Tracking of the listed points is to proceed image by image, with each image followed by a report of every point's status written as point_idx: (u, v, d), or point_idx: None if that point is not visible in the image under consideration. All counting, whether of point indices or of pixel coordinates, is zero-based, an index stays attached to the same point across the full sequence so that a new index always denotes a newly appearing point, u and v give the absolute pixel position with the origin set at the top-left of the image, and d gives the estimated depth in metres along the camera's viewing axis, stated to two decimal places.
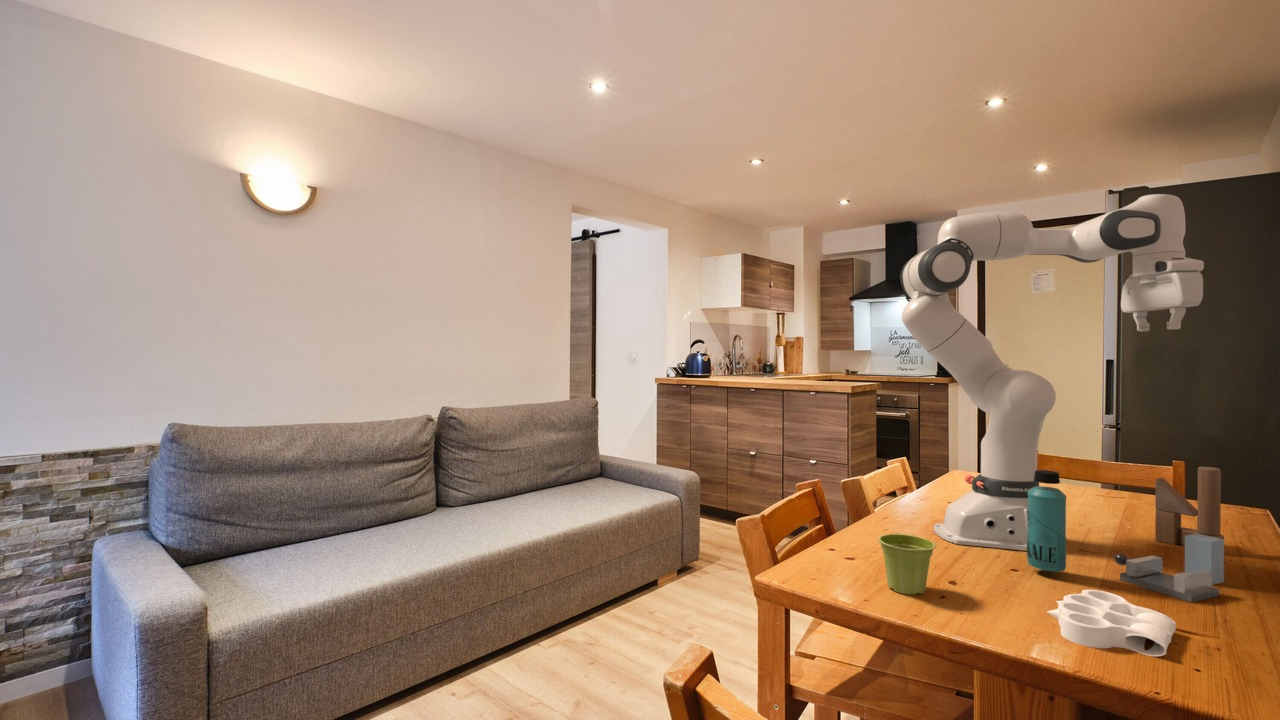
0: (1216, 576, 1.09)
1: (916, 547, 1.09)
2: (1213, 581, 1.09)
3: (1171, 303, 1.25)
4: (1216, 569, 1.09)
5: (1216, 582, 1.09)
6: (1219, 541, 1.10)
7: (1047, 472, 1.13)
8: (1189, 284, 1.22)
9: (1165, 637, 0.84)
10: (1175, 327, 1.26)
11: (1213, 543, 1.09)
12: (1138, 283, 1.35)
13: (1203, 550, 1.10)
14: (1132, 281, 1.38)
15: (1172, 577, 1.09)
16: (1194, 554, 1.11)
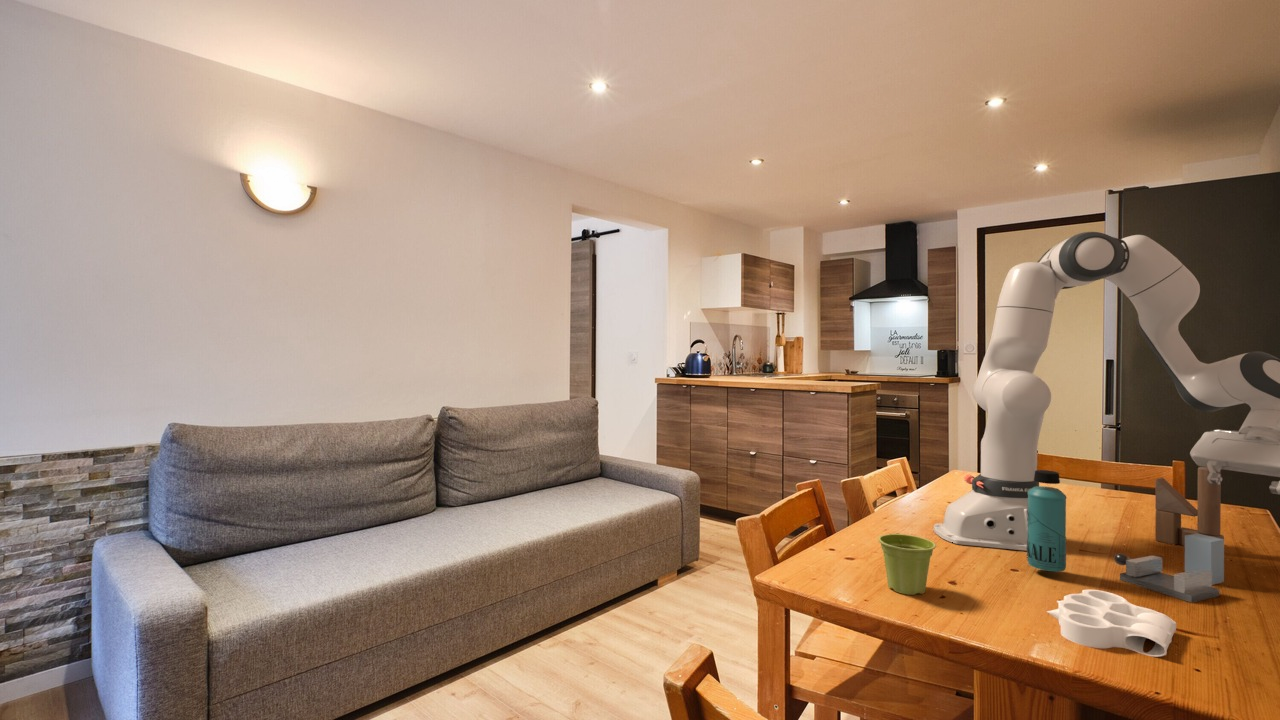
0: (1216, 576, 1.09)
1: (916, 547, 1.09)
2: (1213, 581, 1.09)
3: None
4: (1216, 569, 1.09)
5: (1216, 582, 1.09)
6: (1219, 541, 1.10)
7: (1047, 472, 1.13)
8: None
9: (1165, 637, 0.84)
10: None
11: (1213, 543, 1.09)
12: (1239, 437, 1.21)
13: (1203, 549, 1.10)
14: (1226, 433, 1.23)
15: (1172, 577, 1.09)
16: (1194, 554, 1.11)
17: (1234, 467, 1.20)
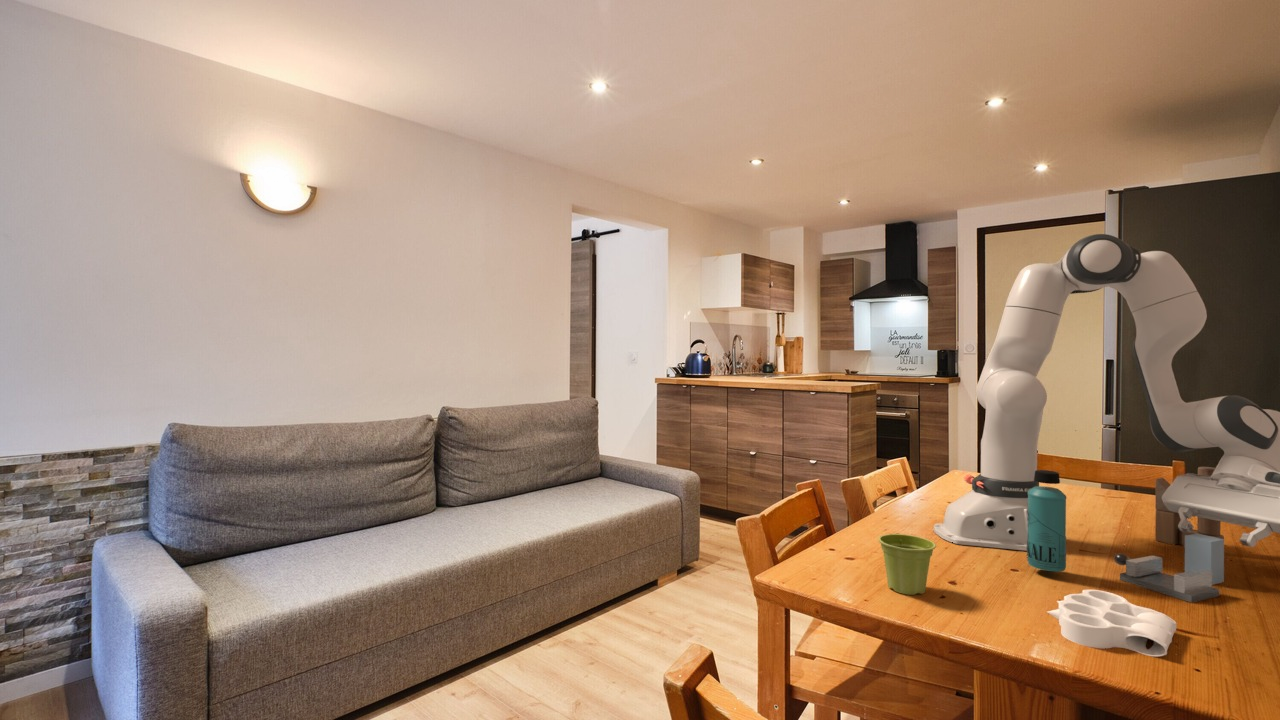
0: (1216, 576, 1.09)
1: (916, 547, 1.09)
2: (1213, 581, 1.09)
3: (1269, 517, 1.07)
4: (1216, 569, 1.09)
5: (1216, 582, 1.09)
6: (1219, 541, 1.10)
7: (1047, 472, 1.13)
8: None
9: (1166, 637, 0.84)
10: (1252, 543, 1.07)
11: (1213, 543, 1.09)
12: (1210, 483, 1.18)
13: (1203, 549, 1.10)
14: (1198, 478, 1.20)
15: (1172, 577, 1.09)
16: (1194, 554, 1.11)
17: (1206, 514, 1.17)
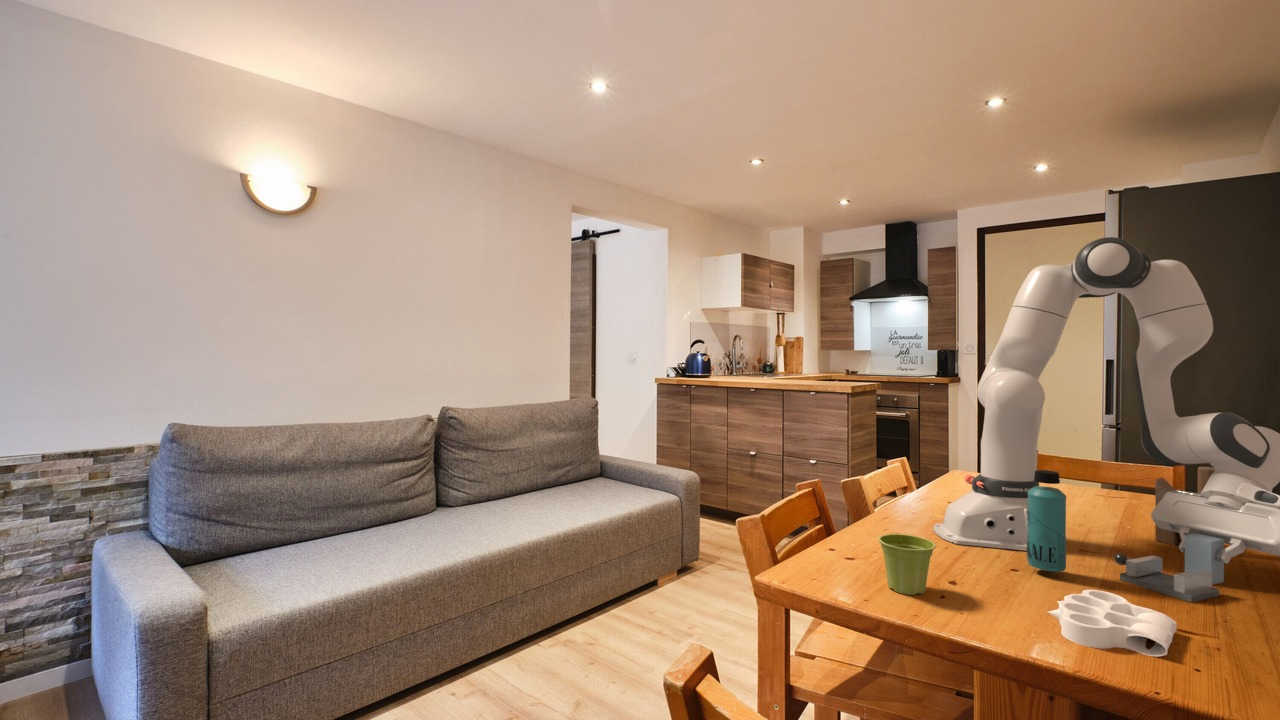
0: (1216, 575, 1.09)
1: (916, 547, 1.09)
2: (1213, 581, 1.09)
3: (1257, 537, 1.06)
4: (1216, 569, 1.09)
5: (1216, 582, 1.09)
6: (1219, 541, 1.10)
7: (1047, 472, 1.13)
8: None
9: (1166, 637, 0.84)
10: (1226, 559, 1.08)
11: (1213, 543, 1.09)
12: (1200, 500, 1.17)
13: (1203, 549, 1.10)
14: (1188, 495, 1.19)
15: (1172, 577, 1.09)
16: (1194, 554, 1.11)
17: None
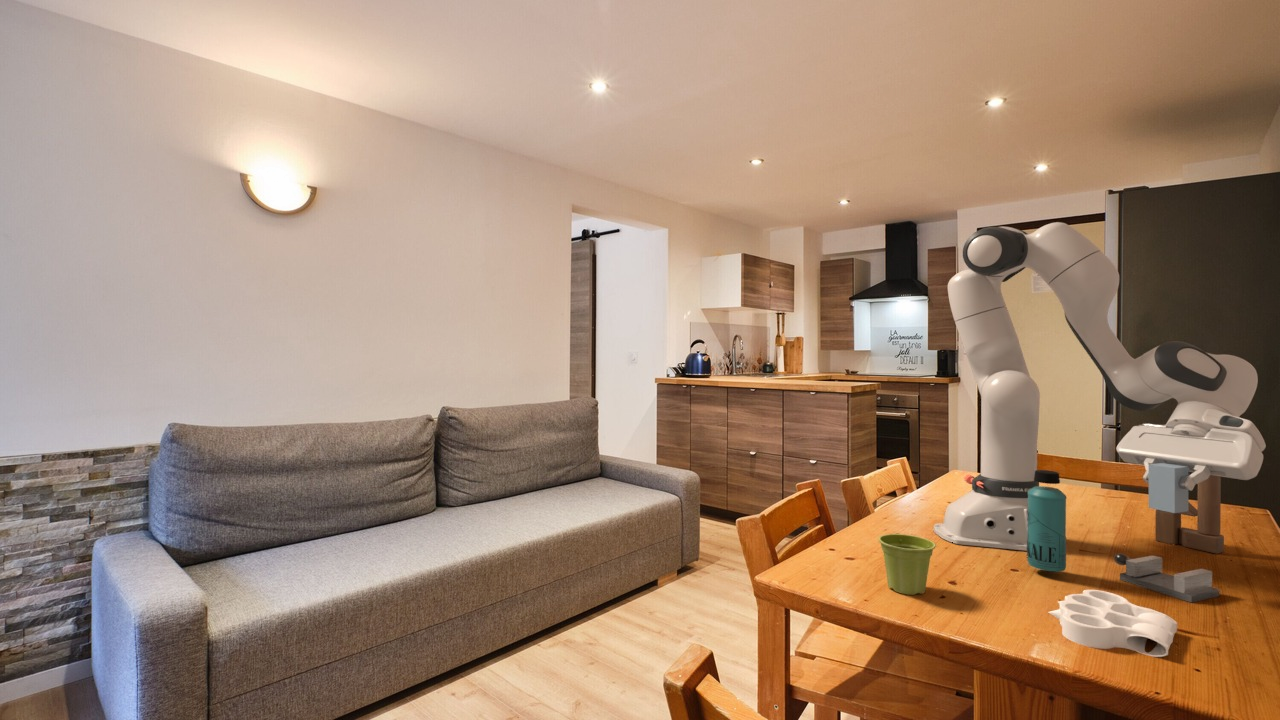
0: (1180, 504, 1.05)
1: (916, 547, 1.09)
2: (1177, 509, 1.05)
3: (1222, 461, 1.02)
4: (1180, 497, 1.05)
5: (1180, 510, 1.05)
6: (1183, 468, 1.06)
7: (1047, 472, 1.13)
8: (1256, 454, 1.00)
9: (1167, 637, 0.84)
10: (1189, 486, 1.04)
11: (1177, 469, 1.05)
12: (1165, 431, 1.13)
13: (1167, 477, 1.06)
14: (1154, 427, 1.15)
15: (1172, 577, 1.09)
16: (1158, 482, 1.07)
17: None
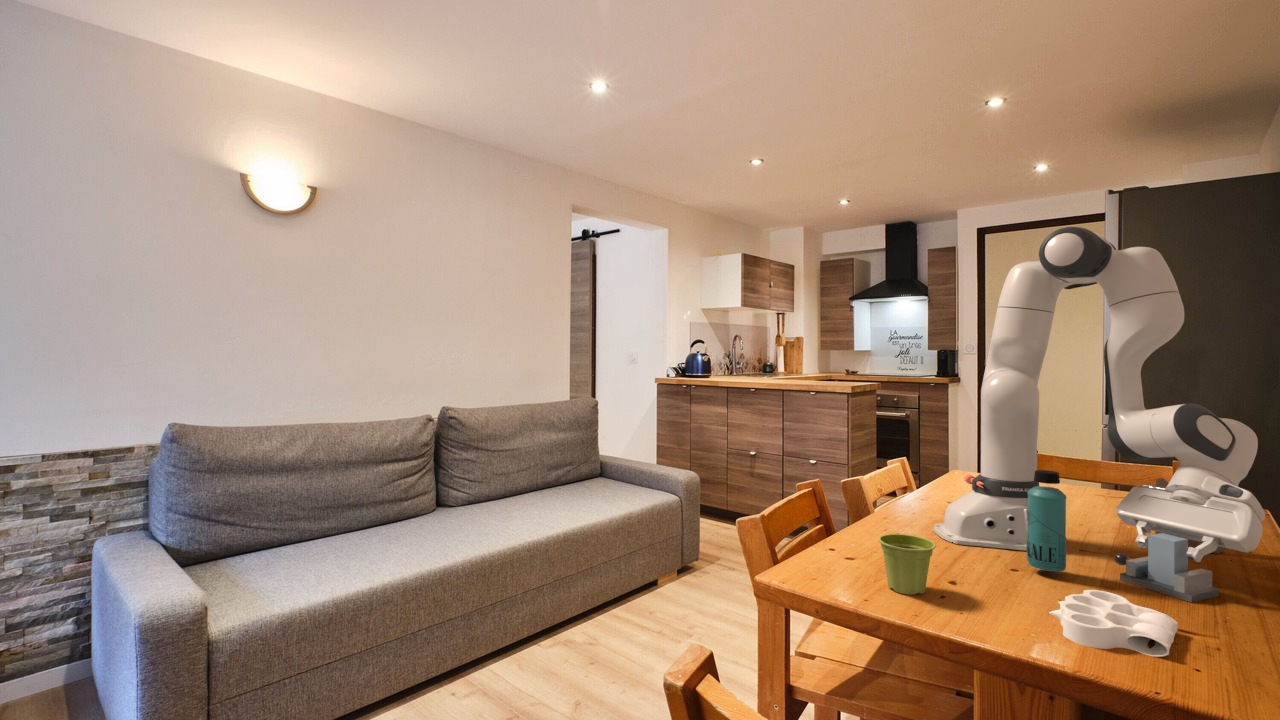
0: None
1: (916, 547, 1.09)
2: None
3: (1221, 533, 1.02)
4: (1180, 570, 1.05)
5: None
6: (1183, 541, 1.06)
7: (1047, 472, 1.13)
8: (1256, 526, 1.00)
9: (1168, 637, 0.84)
10: (1197, 558, 1.03)
11: (1177, 543, 1.05)
12: (1165, 495, 1.13)
13: (1166, 550, 1.06)
14: (1153, 490, 1.15)
15: None
16: (1157, 554, 1.07)
17: (1159, 528, 1.12)
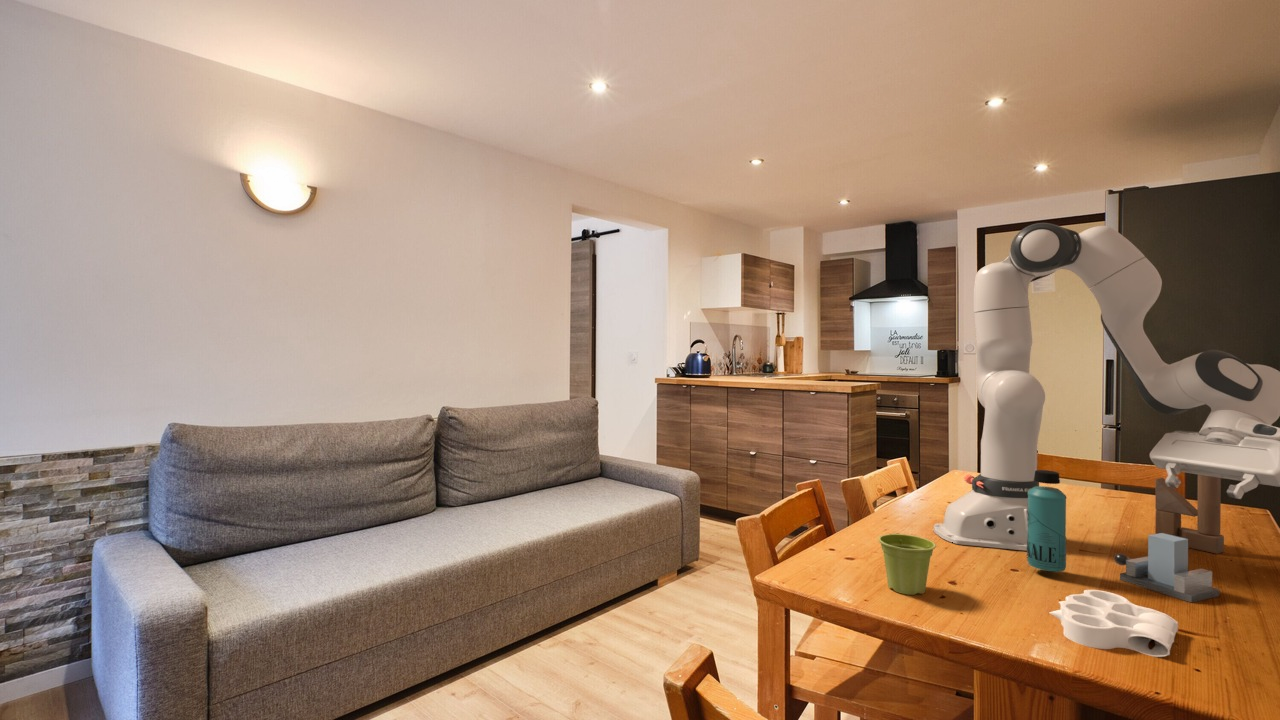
0: None
1: (916, 547, 1.09)
2: None
3: (1256, 468, 1.05)
4: (1180, 570, 1.05)
5: None
6: (1183, 541, 1.06)
7: (1047, 472, 1.13)
8: None
9: (1168, 637, 0.84)
10: (1238, 494, 1.06)
11: (1177, 543, 1.05)
12: (1198, 438, 1.16)
13: (1166, 550, 1.06)
14: (1187, 434, 1.18)
15: None
16: (1157, 554, 1.07)
17: (1193, 470, 1.15)
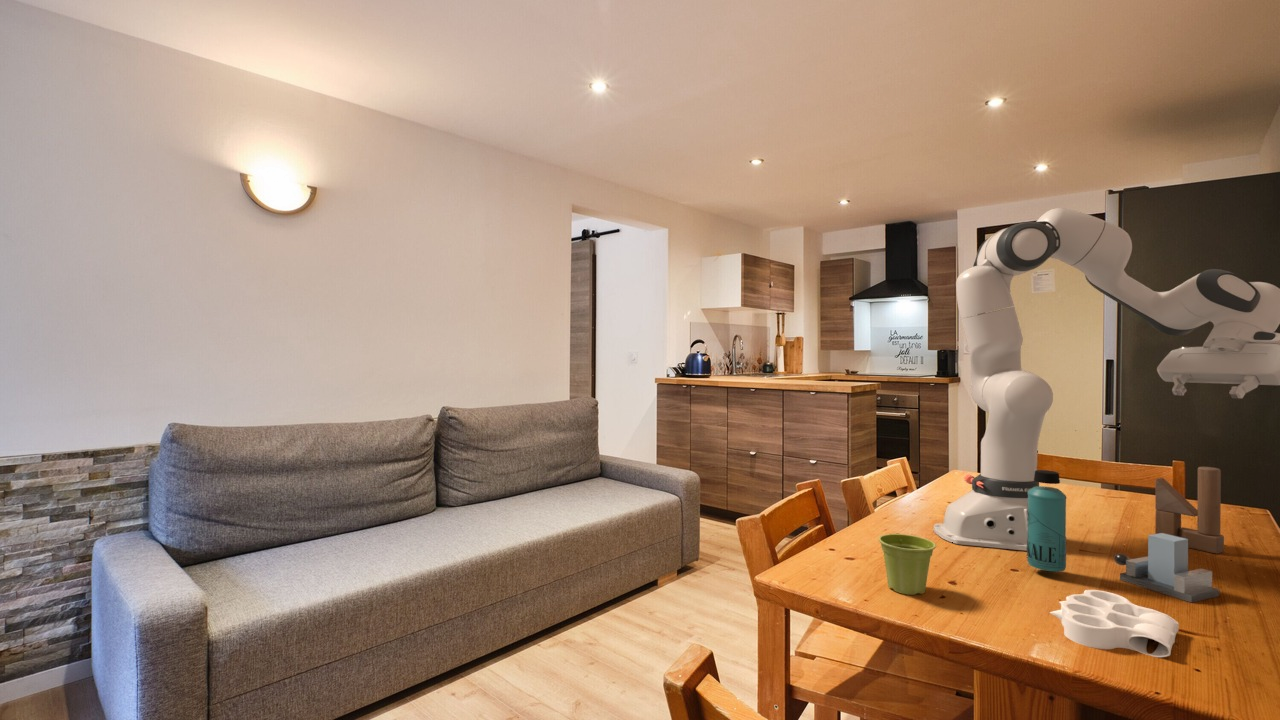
0: None
1: (916, 547, 1.09)
2: None
3: (1256, 370, 1.14)
4: (1180, 570, 1.05)
5: None
6: (1183, 541, 1.06)
7: (1047, 472, 1.13)
8: None
9: (1169, 638, 0.84)
10: (1240, 394, 1.14)
11: (1177, 543, 1.05)
12: (1203, 350, 1.25)
13: (1166, 550, 1.06)
14: (1192, 348, 1.27)
15: None
16: (1157, 554, 1.07)
17: (1198, 379, 1.24)
